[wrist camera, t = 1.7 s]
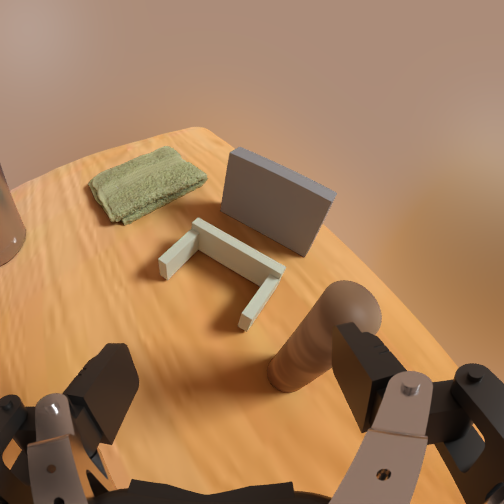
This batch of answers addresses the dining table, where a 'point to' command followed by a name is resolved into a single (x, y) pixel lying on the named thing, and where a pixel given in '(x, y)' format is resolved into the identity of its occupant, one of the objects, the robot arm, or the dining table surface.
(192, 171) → the washcloth
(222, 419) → the dining table surface
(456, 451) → the robot arm
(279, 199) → the wall
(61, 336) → the dining table surface
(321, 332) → the dowel
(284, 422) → the dining table surface
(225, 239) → the bracket
